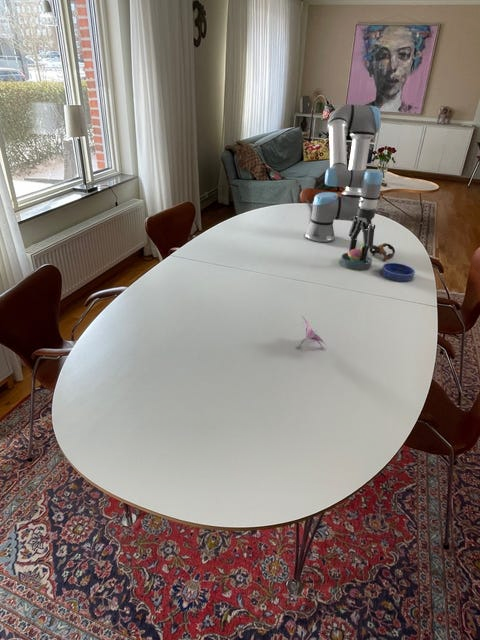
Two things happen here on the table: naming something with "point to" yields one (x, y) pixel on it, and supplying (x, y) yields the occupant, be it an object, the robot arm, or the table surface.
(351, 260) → the cupcake
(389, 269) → the blue dish
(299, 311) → the table surface
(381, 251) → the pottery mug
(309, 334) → the lily
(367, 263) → the slate dish
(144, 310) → the table surface
